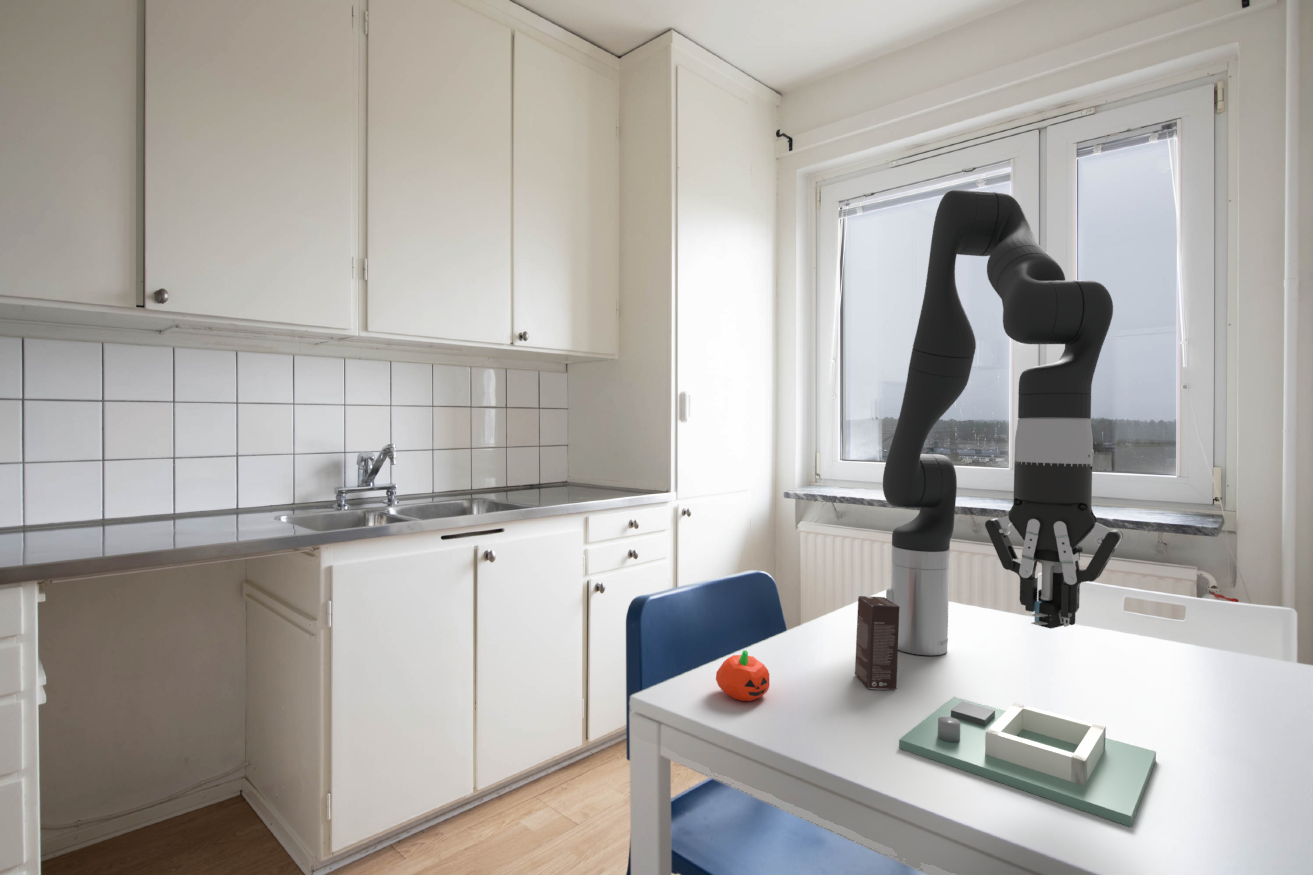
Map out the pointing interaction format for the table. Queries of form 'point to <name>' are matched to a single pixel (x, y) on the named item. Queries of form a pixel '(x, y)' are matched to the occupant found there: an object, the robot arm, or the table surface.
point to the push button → (1051, 591)
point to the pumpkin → (743, 677)
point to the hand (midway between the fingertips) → (1048, 612)
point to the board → (1038, 755)
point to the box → (877, 642)
